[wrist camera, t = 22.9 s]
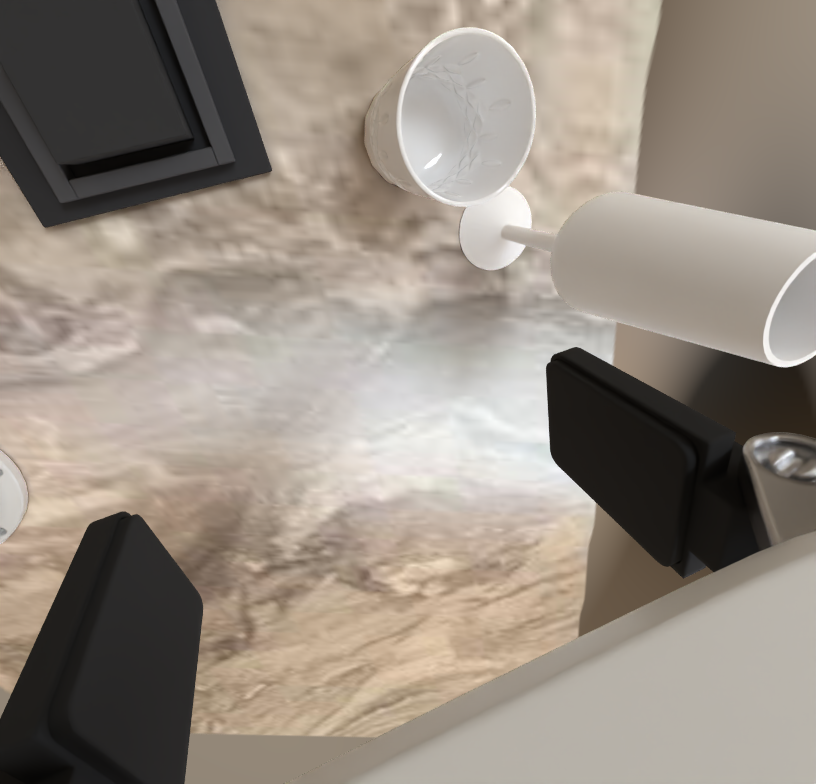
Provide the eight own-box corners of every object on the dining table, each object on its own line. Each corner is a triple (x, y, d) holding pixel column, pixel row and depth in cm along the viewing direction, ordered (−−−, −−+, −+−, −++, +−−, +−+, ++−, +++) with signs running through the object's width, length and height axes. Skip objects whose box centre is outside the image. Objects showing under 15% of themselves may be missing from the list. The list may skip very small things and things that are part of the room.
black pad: (82, 165, 25) (56, 164, 22) (6, 23, 22) (-38, -3, 19) (195, 139, 26) (186, 134, 23) (139, 0, 23) (119, -28, 20)
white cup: (356, 58, 28) (403, 10, 19) (467, 78, 30) (551, 43, 22) (353, 192, 31) (391, 201, 23) (452, 200, 34) (520, 211, 25)
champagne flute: (537, 253, 38) (865, 349, 18) (469, 282, 37) (731, 417, 17) (525, 171, 34) (917, 174, 14) (450, 202, 34) (751, 250, 13)
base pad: (50, 226, 27) (33, 231, 25) (-107, -32, 21) (-148, -55, 19) (271, 170, 29) (273, 170, 27) (189, -76, 23) (183, -101, 21)
